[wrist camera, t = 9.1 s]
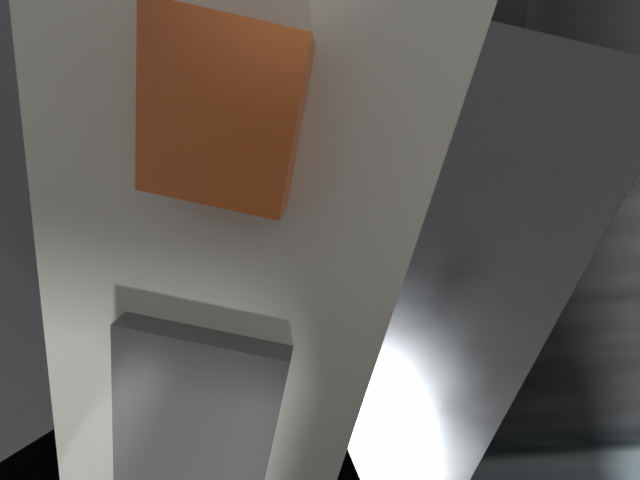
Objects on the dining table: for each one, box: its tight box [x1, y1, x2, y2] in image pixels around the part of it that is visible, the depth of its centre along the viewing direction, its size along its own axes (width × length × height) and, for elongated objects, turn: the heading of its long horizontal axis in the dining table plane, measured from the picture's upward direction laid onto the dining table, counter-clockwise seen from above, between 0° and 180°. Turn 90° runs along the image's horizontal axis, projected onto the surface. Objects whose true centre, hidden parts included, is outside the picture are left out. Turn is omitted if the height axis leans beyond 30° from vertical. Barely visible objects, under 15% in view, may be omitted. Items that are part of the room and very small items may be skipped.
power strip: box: [9, 0, 498, 480], centre depth 8 cm, size 18×4×7 cm, turn 168°
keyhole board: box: [0, 0, 640, 480], centre depth 12 cm, size 22×14×6 cm, turn 168°
